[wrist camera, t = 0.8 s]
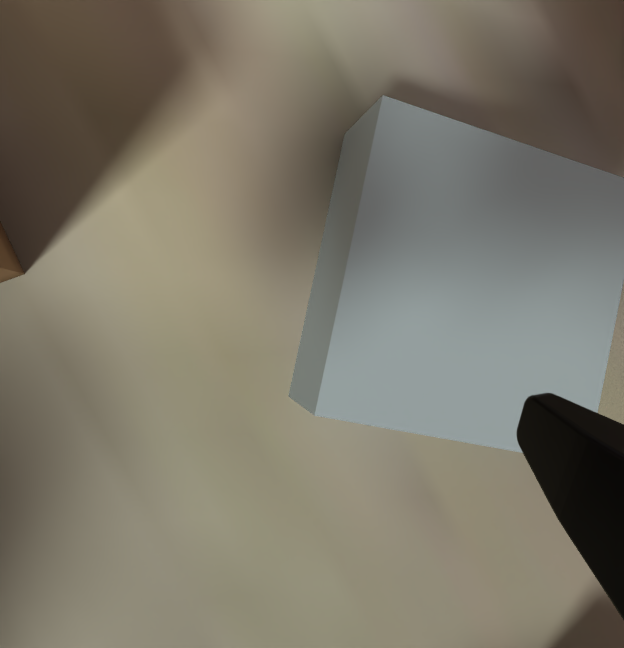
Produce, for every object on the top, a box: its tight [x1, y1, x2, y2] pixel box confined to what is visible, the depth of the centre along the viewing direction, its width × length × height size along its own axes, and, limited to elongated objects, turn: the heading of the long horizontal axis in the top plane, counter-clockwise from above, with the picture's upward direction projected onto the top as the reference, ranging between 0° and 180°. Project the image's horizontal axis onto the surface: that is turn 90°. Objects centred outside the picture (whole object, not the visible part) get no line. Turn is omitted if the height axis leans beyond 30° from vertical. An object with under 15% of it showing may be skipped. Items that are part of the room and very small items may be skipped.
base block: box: [289, 95, 624, 453], centre depth 22 cm, size 11×11×4 cm
